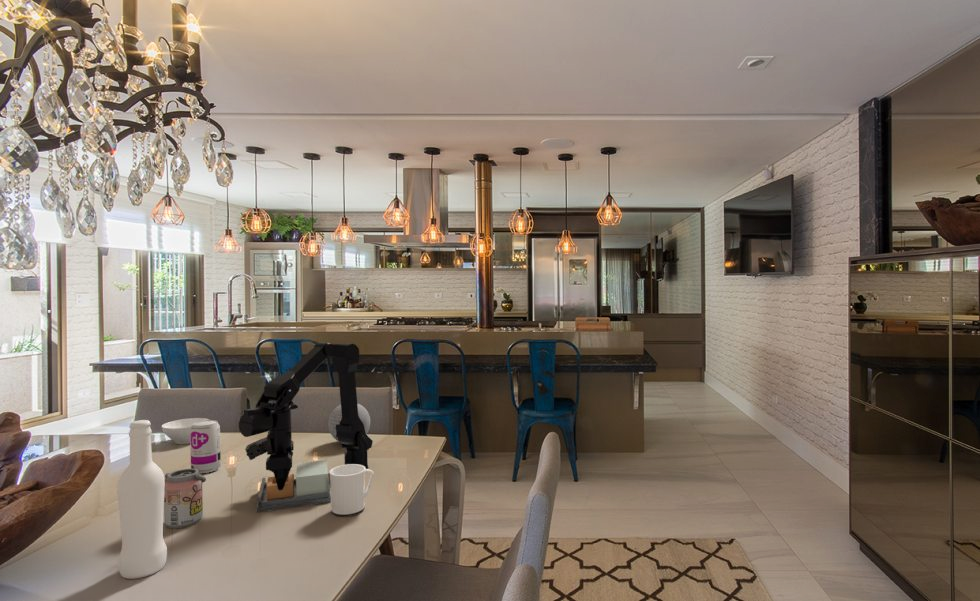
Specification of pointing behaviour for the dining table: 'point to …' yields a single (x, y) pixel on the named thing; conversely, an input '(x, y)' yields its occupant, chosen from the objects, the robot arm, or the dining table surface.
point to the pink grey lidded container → (183, 498)
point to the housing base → (289, 499)
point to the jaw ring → (275, 493)
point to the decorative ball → (337, 417)
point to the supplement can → (205, 446)
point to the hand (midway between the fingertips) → (281, 485)
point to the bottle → (141, 508)
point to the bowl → (180, 429)
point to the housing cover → (312, 478)
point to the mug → (349, 489)
